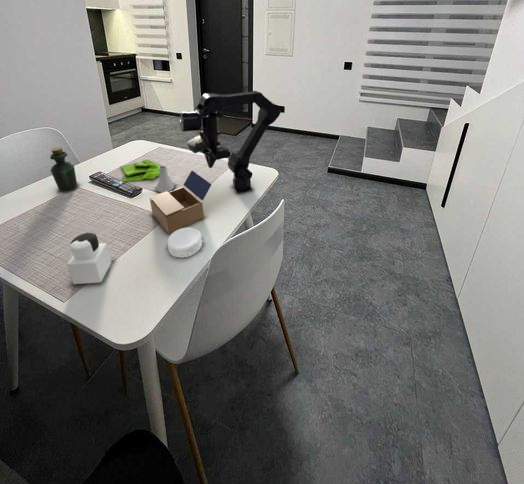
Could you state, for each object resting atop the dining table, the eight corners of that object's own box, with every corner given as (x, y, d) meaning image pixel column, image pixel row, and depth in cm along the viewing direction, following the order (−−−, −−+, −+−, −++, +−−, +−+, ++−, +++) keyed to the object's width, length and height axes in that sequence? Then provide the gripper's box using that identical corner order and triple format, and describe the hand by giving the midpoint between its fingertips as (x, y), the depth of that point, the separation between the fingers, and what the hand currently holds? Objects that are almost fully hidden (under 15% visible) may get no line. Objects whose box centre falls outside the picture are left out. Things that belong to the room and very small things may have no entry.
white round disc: (185, 263, 82) (183, 254, 80) (161, 250, 87) (160, 241, 85) (208, 242, 89) (207, 233, 88) (186, 231, 94) (184, 222, 93)
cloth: (157, 181, 125) (156, 176, 124) (107, 181, 125) (106, 176, 124) (171, 161, 144) (171, 156, 143) (128, 161, 144) (127, 156, 143)
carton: (185, 200, 111) (183, 184, 108) (203, 217, 101) (202, 200, 98) (152, 214, 103) (149, 197, 100) (168, 234, 93) (165, 215, 91)
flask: (169, 193, 116) (165, 172, 112) (153, 192, 117) (149, 170, 113) (177, 184, 122) (174, 164, 119) (162, 183, 124) (158, 162, 120)
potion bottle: (83, 182, 124) (73, 144, 117) (72, 192, 117) (60, 152, 110) (64, 183, 124) (53, 144, 117) (52, 193, 116) (39, 153, 110)
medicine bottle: (86, 264, 82) (75, 230, 77) (112, 262, 82) (103, 228, 78) (73, 285, 75) (60, 249, 70) (101, 283, 76) (90, 247, 71)
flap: (183, 184, 108) (184, 185, 108) (201, 200, 98) (202, 200, 99) (191, 170, 109) (192, 170, 109) (211, 184, 99) (211, 184, 99)
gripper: (177, 125, 105) (179, 164, 111) (203, 140, 92) (204, 183, 98) (204, 121, 112) (205, 157, 118) (231, 134, 99) (231, 174, 105)
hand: (210, 167), depth 109 cm, fingers closed
